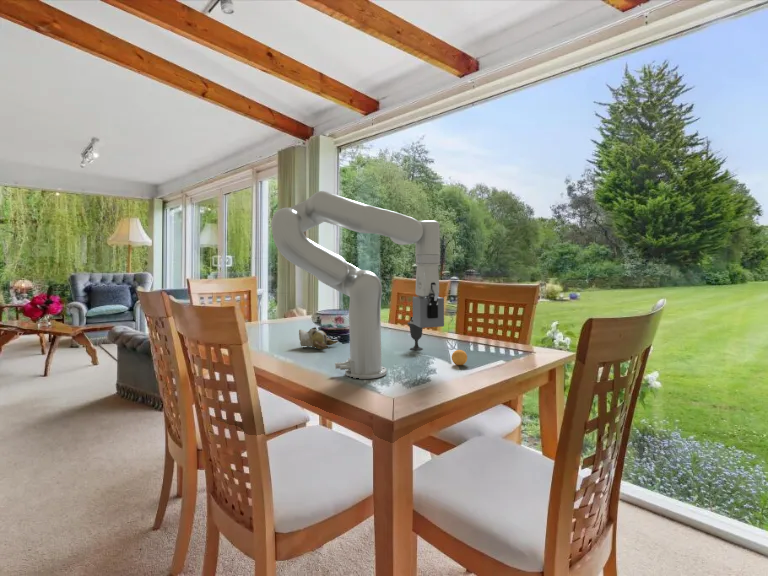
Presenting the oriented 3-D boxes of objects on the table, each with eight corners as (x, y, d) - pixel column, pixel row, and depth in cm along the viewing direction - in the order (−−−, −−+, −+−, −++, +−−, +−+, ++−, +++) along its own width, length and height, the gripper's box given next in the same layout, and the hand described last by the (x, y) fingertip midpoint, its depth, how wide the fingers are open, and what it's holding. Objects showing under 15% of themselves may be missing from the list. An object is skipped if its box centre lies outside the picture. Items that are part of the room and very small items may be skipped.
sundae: (424, 351, 161) (423, 311, 160) (406, 350, 163) (406, 311, 162) (426, 347, 168) (425, 309, 167) (409, 347, 169) (408, 309, 168)
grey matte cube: (420, 327, 132) (420, 299, 132) (412, 323, 140) (412, 296, 139) (444, 326, 134) (443, 298, 133) (435, 322, 142) (435, 295, 141)
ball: (455, 367, 137) (455, 352, 137) (449, 363, 142) (449, 348, 142) (469, 366, 138) (469, 351, 138) (463, 362, 143) (463, 347, 143)
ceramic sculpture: (305, 323, 178) (339, 326, 173) (305, 344, 179) (338, 348, 174) (292, 328, 168) (327, 331, 163) (292, 349, 169) (326, 354, 164)
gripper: (408, 260, 143) (408, 313, 144) (425, 261, 126) (425, 320, 127) (429, 260, 145) (430, 312, 146) (449, 260, 128) (449, 319, 129)
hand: (428, 316), depth 137 cm, fingers closed on grey matte cube, 7 cm apart
